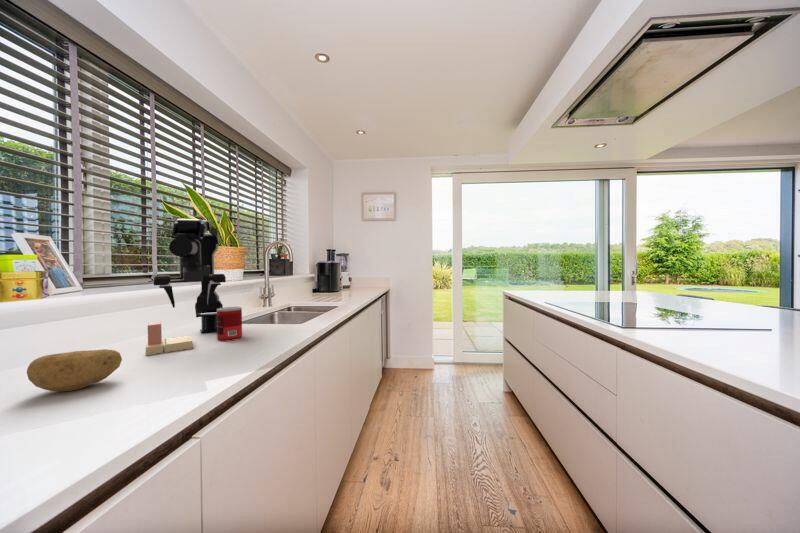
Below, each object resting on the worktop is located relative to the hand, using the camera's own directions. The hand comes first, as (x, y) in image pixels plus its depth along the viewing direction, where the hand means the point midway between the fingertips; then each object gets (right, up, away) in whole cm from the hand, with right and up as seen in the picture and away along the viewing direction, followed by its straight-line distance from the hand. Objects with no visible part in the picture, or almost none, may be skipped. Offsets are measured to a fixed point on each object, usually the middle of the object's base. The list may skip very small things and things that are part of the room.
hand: (191, 306), depth 96 cm
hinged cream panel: (-4, -13, 0) cm, 14 cm away
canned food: (+6, -13, +11) cm, 18 cm away
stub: (-9, -13, -3) cm, 17 cm away
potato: (-2, -14, -32) cm, 35 cm away
